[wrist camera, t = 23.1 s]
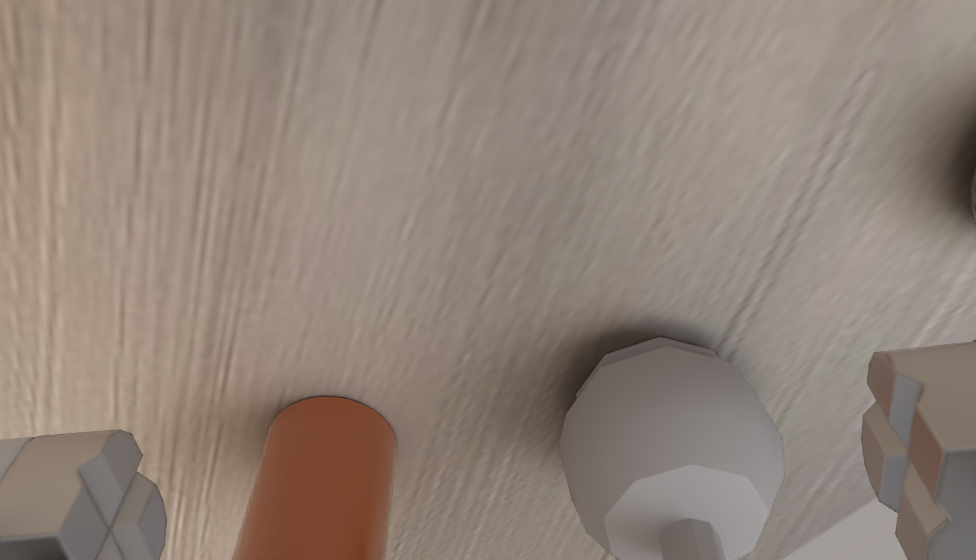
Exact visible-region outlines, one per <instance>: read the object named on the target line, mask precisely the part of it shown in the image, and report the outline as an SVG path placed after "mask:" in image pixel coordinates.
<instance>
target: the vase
mask: <svg viewBox="0 0 976 560" xmlns="http://www.w3.org/2000/svg"><path fill="white" fill-rule="evenodd" d="M971 203H972V211H973V215H974V220H975V224H976V169H975V172H974V176H973V180H972V187H971Z"/></svg>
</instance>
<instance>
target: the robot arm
mask: <svg viewBox="0 0 976 560" xmlns="http://www.w3.org/2000/svg"><path fill="white" fill-rule="evenodd" d="M867 384H868V386H869V388H870V389H871V391H872V393H873V395H874V397H875V399H876V400H877V401H876V402H875V403H874V404H873V405H872V406H871V407H870V408H869V409H868V410H867V411H866V413H865V414H864V415H863V424H862V438H861V440H862V448H863V456H864V463H865V467H866V470H867V473H868V477H869V480H870V483H871V485H872V487H873V489H874V491H875V494H876V496H877V498H878V500H879V502H881V503H883V504H884V505H886V506H887V507H889V508H891V509H892V510H894V511H895V512H897V513H898V518H897V526H896V533H895V534H896V537H897V539H898V541H899V542H900V545H901V547H902V549H903V551H904V552H905V555H906V557H907V559H908V560H976V340H973V341H972V342H962V343H953V344H944V345H935V346H925V347H916V348H907V349H898V350H889V351H879V352H874V354H873V356H872V358H871V361H870V363H869V369H868V377H867ZM142 457H143V454H142V453H141V451H140V449H139V447H138V445H137V443H136V441H135V439H134V437H133V435H132V434H131V433H129V432H126V431H123V430H120V429H119V430H106V431H94V432H81V433H69V434H56V435H44V436H37V437H26V438H15V439H4V440H0V560H160V557H161V554H162V552H163V549H164V546H165V536H166V524H167V518H166V513H165V507H164V502H163V499H162V497H161V494H160V492H159V490H158V487H157V485H156V484H155V483H153V482H152V481H150V480H149V479H147V478H146V477H144V476H143V475H142V474H140V473H139V472H137V468H138V466H139V464H140V461H141V459H142Z"/></svg>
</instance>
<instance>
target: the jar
mask: <svg viewBox="0 0 976 560" xmlns="http://www.w3.org/2000/svg"><path fill="white" fill-rule="evenodd" d="M396 459H397V441H396V438H395V435H394V433H393V431H392V429H391V427H390V426H389V424H388V423H387V422H386V420H385V419H384V418H383V417H382V416H381V415H379V414H378V413H377V412H376V411H374V410H372V409H371V408H369V407H367V406H365V405H363V404H361V403H359V402H356V401H353V400H349V399H345V398H340V397H328V396H326V397H314V398H308V399H305V400H301V401H299V402H296V403H294V404H292V405H290V406H288V407H287V408H285V409H284V410H283V411H281V412H280V413H279V414H278V415H277V416H276V417H275V419H274V420H273V422H272V423H271V425H270V427H269V430H268V434H267V437H266V441H265V444H264V448H263V451H262V455H261V458H260V462H259V465H258V469H257V472H256V476H255V479H254V483H253V486H252V490H251V493H250V497H249V500H248V504H247V507H246V511H245V514H244V518H243V521H242V525H241V528H240V532H239V535H238V539H237V542H236V546H235V549H234V553H233V556H232V560H386V552H387V542H388V533H389V524H390V515H391V506H392V496H393V487H394V478H395V469H396Z"/></svg>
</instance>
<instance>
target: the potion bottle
mask: <svg viewBox="0 0 976 560" xmlns="http://www.w3.org/2000/svg"><path fill="white" fill-rule="evenodd" d="M576 397H577V400H576V401H575V402H574V404H573V405H572V407H571V408H570V409H569V411H568V412H567V413H566V417H565V422H564V426H563V430H562V434H561V439H560V443H559V449H560V453H561V458H562V462H563V466H564V470H565V474H566V478H567V482H568V486H569V490H570V494H571V498H572V501H573V503H574V505H575V507H576V510H577V512H578V514H579V516H580V519H581V521H582V523H583V525H584V528H585V530H586V532H587V533H588V534H589V535H590V536H591V537H592V538H593V539H594V540H595V541H597V542H598V543H599V544H600V545H601V546H602V547H603V548H604V549H605V550H607V551H608V552H609V553H610V554H611V555H612V556H614V557H616V558H618V559H620V560H737V559H738V558H740V557H742V556H744V555H746V554H748V553H749V552H751V551H753V550H754V548H755V546H756V544H757V541H758V539H759V537H760V534H761V532H762V530H763V527H764V525H765V523H766V520H767V518H768V516H769V513H770V511H771V509H772V506H773V504H774V501H775V499H776V496H777V494H778V491H779V489H780V486H781V484H782V481H783V479H784V476H785V474H784V452H783V437H782V435H781V434H780V432H779V430H778V429H777V427H776V426H775V424H774V422H773V421H772V419H771V418H770V416H769V414H768V413H767V411H766V410H765V408H764V406H763V405H762V403H761V402H760V400H759V398H758V397H757V395H756V394H755V392H754V390H753V389H752V387H751V386H750V385H749V384H748V382H747V381H746V380H745V379H744V378H743V377H742V376H741V374H740V373H739V372H738V371H737V370H736V369H735V367H734V366H733V365H732V364H731V363H730V362H728V361H724V360H720V359H718V358H717V356H716V355H715V353H714V351H713V350H710V349H706V348H703V347H699V346H695V345H691V344H687V343H683V342H679V341H675V340H671V339H667V338H663V337H657V338H654V339H651V340H648V341H645V342H642V343H639V344H636V345H633V346H630V347H627V348H624V349H621V350H618V351H615V352H612V353H608V354H605V355H604V357H603V358H602V359H601V361H600V362H599V363H598V365H597V366H596V367H595V369H594V370H593V372H592V373H591V374H590V376H589V377H588V378H587V380H586V381H585V382H584V384H583V385H582V386H581V388H580V389H579V390H578V392H577V393H576Z"/></svg>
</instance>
